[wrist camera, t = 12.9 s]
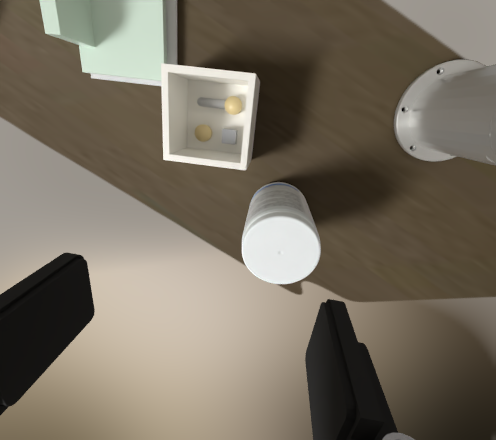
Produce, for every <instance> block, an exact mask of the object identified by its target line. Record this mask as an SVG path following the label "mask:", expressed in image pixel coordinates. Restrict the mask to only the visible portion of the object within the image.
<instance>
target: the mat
mask: <svg viewBox="0 0 496 440" xmlns="http://www.w3.org/2000/svg"><path fill="white" fill-rule="evenodd" d="M166 43H167V64H173V65H178V62H177V0H166ZM91 78H95V79H104V80H112V81H121V82H130V83H139V84H147V85H156V86H162V82H161V81H155V80H146V79H137V78H128V77H119V76H110V75H101V74H92V73H91Z"/></svg>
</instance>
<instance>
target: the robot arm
mask: <svg viewBox="0 0 496 440" xmlns="http://www.w3.org/2000/svg"><path fill="white" fill-rule="evenodd" d="M437 70H438V74H437ZM402 108H404V110H403V111H402ZM394 131H395V135H396V139H397V141H398V143H399V145H400V146H401V147H402V148H403V150H404V151H406V152H407V153H408V154H409V155H411V156H413V157H415V158H418V159H421V160H424V161H444V160H448V159H452V158H454V157H457V156H459V157H463V158H467V159H471V160H475V161H479V162H483V163H488V164H492V165H496V65H492V66H485V65H483V64H481V63H479V62H477V61H472V60H453V61H448V62H445V63H442V64H439V65H436V66H434V67H432V68H430V69H428V70H427V71H425V72H424V73H422V74H421V75H420V76H418V77H417V78H416V79H415V80H414V81H413V82H412V83H411V84H410V85H409V87H408V88H407V89H406V91H405V92H404V93H403V95H402V97H401V99H400V101H399V103H398V106H397V109H396V112H395V117H394ZM411 146H412V148H411V149H410V147H411ZM93 316H94V304H93V298H92V292H91V285H90V279H89V272H88V266H87V262H86V260H84V258H83V257H82V256H81V255H77V254H71V253H64V254H62V255H60V256H59V257H57V258H56V259H54V260H53V261H51V262H50V263H48V264H46V265H45V266H43V267H42V268H40V269H39V270H37V271H36V272H34V273H33V274H31V275H30V276H28V277H27V278H25V279H23V280H22V281H20V282H19V283H17V284H16V285H14V286H13V287H11V288H10V289H8V290H7V291H5V292H4V293H2V294H1V295H0V415H1V414H2V413H3V412H4V411H5V410H6V409H7V408H8V407H9V406H12V405H13V404H15V403H16V402H17V401H18V400H19V399H20V398H21V397H22V396H23V395H24V393H25V392H26V391H27V390H28V389H29V388H30V387H31V386H32V385H33V383H35V381H36V380H37V379H38V378H39V377H40V376H41V375H42V374H43V373H44V372H45V370H46V369H47V368H48V367H49V366H50V365H51V363H53V362H54V360H55V359H56V358H57V357H58V356H59V355H60V354H61V353H62V352H63V351H64V349H65V348H66V347H67V346H68V345H69V344H70V343H71V342H72V341H73V340H74V338H75V337H76V336H77V335H78V334H79V333H80V332H81V331H82V330H83V329H84V327H85V326H86V325H87V324H88V323H89V322H90V321H91V319H92V318H93ZM306 371H307V381H308V391H309V401H310V410H311V421H312V430H313V440H414V439H413V438H411V437H409V436H406V435H404V434H402V433H398V431H397V428H396V426H395V423H394V420H393V417H392V415H391V412H390V409H389V407H388V404H387V401H386V398H385V396H384V393H383V390H382V388H381V385H380V382H379V379H378V377H377V374H376V371H375V368H374V366H373V363H372V360H371V358H370V355H369V352H368V349H367V347H366V346H365V344H363V343H359V342H358V341H357V338H356V335H355V332H354V329H353V326H352V323H351V320H350V318H349V314H348V312H347V308H346V305H345V303H344V302H341V301H336V300H330V299H328V300H327V302H326V303H325V302H322V303H321V306H320V309H319V312H318V315H317V319H316V322H315V325H314V328H313V331H312V335H311V338H310V341H309V344H308V347H307V351H306Z"/></svg>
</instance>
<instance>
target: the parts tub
mask: <svg viewBox="0 0 496 440" xmlns="http://www.w3.org/2000/svg"><path fill="white" fill-rule="evenodd" d="M161 82H162V121H163V159H164V160H170V161H178V162H185V163H193V164H201V165H208V166H216V167H224V168H231V169H239V170H246V169H247V167H248V166H249V164H250V162H251V160H252V151H253V142H254V133H255V124H256V115H257V106H258V97H259V88H260V80H259V78H258V76H257V75H256V74H255V73H246V72H237V71H228V70H219V69H209V68H200V67H191V66H182V65H173V64H164V63H161Z"/></svg>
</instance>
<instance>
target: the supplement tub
mask: <svg viewBox="0 0 496 440" xmlns="http://www.w3.org/2000/svg"><path fill="white" fill-rule="evenodd" d="M320 254H321V246H320V238H319V235H318V232H317V229H316V226H315V223H314V221H313V218H312V215H311V212H310V210H309V207H308V204H307V202H306V199H305V197H304V195H303V194H302V193H301V192H300V191H299V190H298V189H297V188H296V187H294V186H292V185H290V184H287V183H283V182H274V183H270V184H267V185H265V186H263V187H262V188H260V189H259V190H258V191H257V192H256V193H255V194H254V196H253V198H252V200H251V203H250V207H249V211H248V215H247V219H246V223H245V228H244V232H243V237H242V256H243V260H244V262H245V264H246V266H247V268H248V269H249V270H250V271H251V272H252V273H253V274H254V275H255V276H257V277H258V278H260V279H262V280H264V281H266V282H269V283H274V284H289V283H293V282H296V281H299V280H301V279H303V278H305V277H306V276H308V275H309V274H310V273H311V272H312V271H313V270H314V268H315V267H316V265H317V264H318V261H319V259H320Z"/></svg>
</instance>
